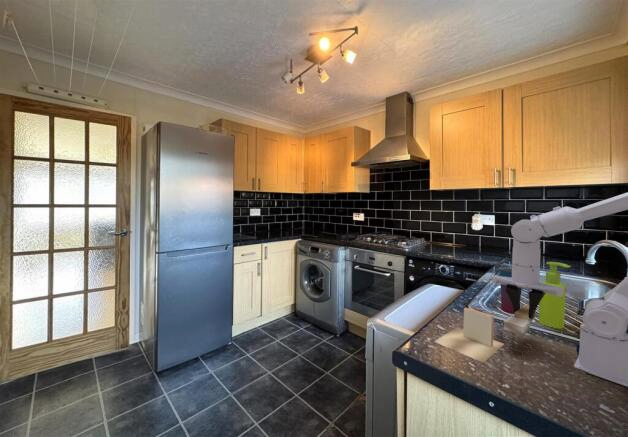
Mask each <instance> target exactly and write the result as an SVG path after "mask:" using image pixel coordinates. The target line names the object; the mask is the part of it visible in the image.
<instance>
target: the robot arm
mask: <svg viewBox="0 0 628 437" xmlns="http://www.w3.org/2000/svg"><path fill="white" fill-rule="evenodd" d="M627 210H628V192H625V193H622V194H619V195H616V196H613V197H610V198H607V199H604V200H600V201H597V202H595V203H591V204H588V205H586V206H583V207H578V208H574V207H571V206H564V207H561V206H556V207H553V208H552V210H551V211H548V212H545V213H541V214H539V215H538V214H537V215H535V214H532V215H530V217H529V218H530V219H521V220H519V221H516V222H515V223H513V225H512V227H511V229H510V232H511V236H512V238H513V246H512V255H511V257H512V258H511V268H512V278H511V277H503V276H500V275H496V274H495V275H493V276H492V277H491V283H492V284H495V285H496V284H498V285H499V284H503V285H507V286H506V288H505V290H506V292H507V294H508V296H509V298H510V300H511V302H512V305H513V309H514V313H515V312H516V311H517V310H519V309H520V308H521V299H520V296H521V297H522V290H523V289H524V290H530V291H529V292H528V305H529V318H531V319H532V318H534V315H535V311H536V310H537V309H538V306H539V303H540V301H541V299H542V298H543V296H544V295H545V294H546V293H549V294H554V295H556V296H560V297H562V296H563V290H564V288H563V287H558V286H553V285H549V284H545V283H541V282H542V281H541V280H540V278H541V277H540V276H541V275H540V274H541V253H542V252H541V251H542V250H541V238H542V237H545V238H549V237H552V236H553V237H554V236H556V235H560V234H564V233H568V232H571V231H574V230H578V229H580V228H581V227H582V225H584V222H585V221H589V220H594V219H596V218H601V217H605V216H608V215H614V214H616V213H619V212H623V211H627ZM521 289H522V290H521ZM536 312H537V311H536ZM514 313H513V314H514ZM535 316H536V315H535ZM534 319H535V318H534ZM582 321H583V322H582V323H581V324H580V327H579V328H580V329H579V332H580V333H579V348H578V349H579V350H578V353H579V354H578V356H577V359H576V360H575V362H574V364H573V367H574V368H576V369H579V370H582V371H584V372H586V373H587V374H590V375H593V376H596V377H599V378H602V379H604V380H607V381H610V382H613V383H616V384H618V385H622V386H623V387H624V386H625V387H627V388H628V333H627V330H628V275H627V276H626V277H625V278H624V279H623V280H621V282H619V283H618V284H617V285H616V286H615V287H613V288H612V289H610V290H609V291H607V292H605V293H603V295H602V296H599V297H596V298H592V299H590V300H588V301H587V302H586V303H585V305H584V312H583V314H582Z"/></svg>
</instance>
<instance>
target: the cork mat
mask: <svg viewBox="0 0 628 437" xmlns="http://www.w3.org/2000/svg"><path fill="white" fill-rule="evenodd" d="M433 342H434V343H436V344H438V345H440V346H444V347H446V348H448V349H450V350H452V351H455V352H457V353H459V354H461V355H464V356H466V357H469V358H472V359H474V360H476V361H478V362H481V363H483V364H484V363H485V362H487V360H488V359H490V358H491V357H492V356H493V355H495V354H496V352H497V351H499V350H500V349H501V348H502V347H503V346H504V345H505V343H502V342H501V341H497V340H495V339H493V346H492V347H491V346H488V345H486V344H483V343H480V342H478V341H475V340H472V339H470V338H467V337H464V336H463V328H460V327H458V326H456V327H455V328H454V329H452V330H451V331H449V332H448V333H446V334H444V335H442V336H440V337H439V338H437V339H436V340H434V341H433Z"/></svg>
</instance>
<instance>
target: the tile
mask: <svg viewBox="0 0 628 437" xmlns="http://www.w3.org/2000/svg"><path fill="white" fill-rule="evenodd" d="M494 324H495V316H494V315H492V314H489V313H485V312H483V311H478V310H475V309H471V308H468V307H463V328H462V329H463V336H464V337H467V338H470V339H472V340H475V341H478V342H480V343H483V344H486V345H488V346H491V347H492V346H493V340H494V332H495V331H494V330H495V329H494V328H495V326H494Z"/></svg>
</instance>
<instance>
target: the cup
mask: <svg viewBox="0 0 628 437" xmlns="http://www.w3.org/2000/svg"><path fill="white" fill-rule="evenodd" d="M499 276H503V277H511V278H512V267H500V268H499ZM506 286H507V285H503V284H500V303H501V304H500V305H501V307H500V308H501V310H502V311H503V312H505V313H509V314H514V309H513V305H512V302H511V300H510V298H509V296H508V294H507V292H506V290H505V288H506ZM522 290H523V288H522V289H521V291H522ZM521 297H522V295H521V296H520V300H521Z"/></svg>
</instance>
